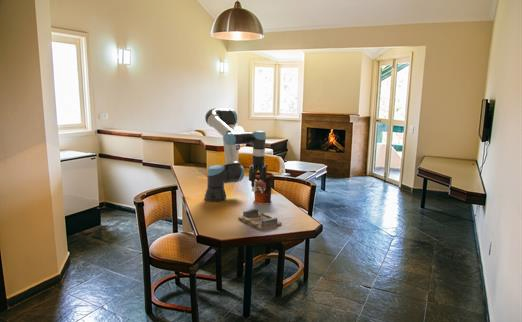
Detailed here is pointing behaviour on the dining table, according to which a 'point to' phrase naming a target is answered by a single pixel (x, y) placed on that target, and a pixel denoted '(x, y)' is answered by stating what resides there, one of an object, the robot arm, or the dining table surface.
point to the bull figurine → (260, 185)
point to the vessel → (266, 195)
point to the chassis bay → (259, 219)
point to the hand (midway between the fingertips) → (257, 190)
